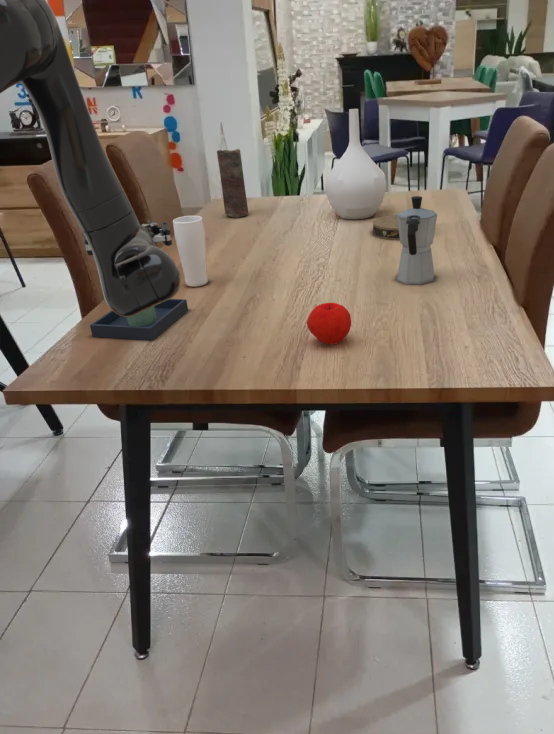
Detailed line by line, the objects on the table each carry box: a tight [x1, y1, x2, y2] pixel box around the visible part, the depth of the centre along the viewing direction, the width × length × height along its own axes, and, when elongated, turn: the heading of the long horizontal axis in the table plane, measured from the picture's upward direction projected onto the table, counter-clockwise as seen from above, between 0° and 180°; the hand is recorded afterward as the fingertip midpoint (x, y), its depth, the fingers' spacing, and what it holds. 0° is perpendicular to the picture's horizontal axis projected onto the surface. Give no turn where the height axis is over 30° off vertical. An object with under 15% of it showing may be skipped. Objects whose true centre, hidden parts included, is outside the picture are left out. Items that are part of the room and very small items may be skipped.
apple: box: [306, 302, 352, 345], centre depth 125 cm, size 8×8×7 cm
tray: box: [89, 298, 189, 341], centre depth 141 cm, size 16×13×2 cm
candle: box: [216, 148, 249, 219], centre depth 215 cm, size 8×7×20 cm
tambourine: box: [372, 214, 400, 241], centre depth 191 cm, size 16×16×3 cm
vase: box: [324, 108, 387, 221], centre depth 204 cm, size 18×18×30 cm
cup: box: [126, 306, 157, 326], centre depth 138 cm, size 6×6×10 cm
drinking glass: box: [172, 215, 209, 288], centre depth 158 cm, size 7×7×15 cm
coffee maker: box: [395, 195, 438, 286], centre depth 151 cm, size 15×9×18 cm, turn 165°
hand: (125, 228), depth 121 cm, fingers open, 8 cm apart
